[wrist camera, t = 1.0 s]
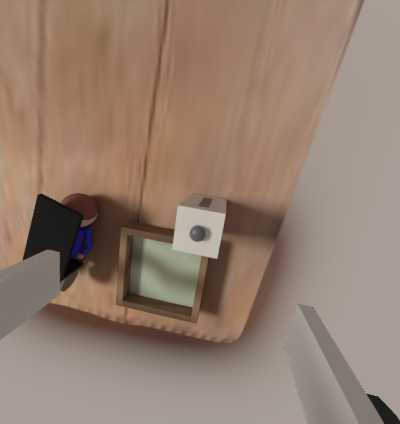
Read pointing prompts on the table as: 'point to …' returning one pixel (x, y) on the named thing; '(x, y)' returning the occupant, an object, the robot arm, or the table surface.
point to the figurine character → (62, 231)
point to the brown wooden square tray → (158, 273)
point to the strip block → (199, 225)
